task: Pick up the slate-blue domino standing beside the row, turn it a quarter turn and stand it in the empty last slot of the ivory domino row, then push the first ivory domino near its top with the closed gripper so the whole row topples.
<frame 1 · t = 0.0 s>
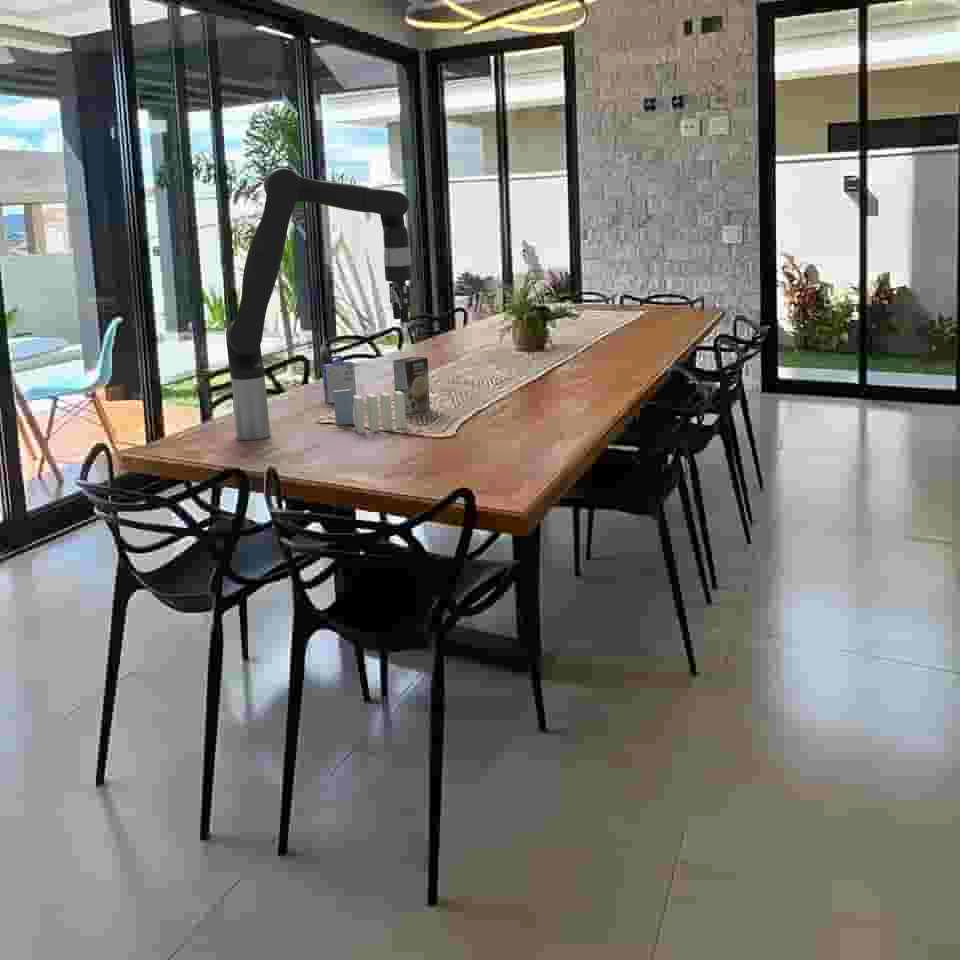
hand: (401, 320, 317), 29 cm above the table, fingers open, 8 cm apart
domino 4: (401, 426, 316), on the table
domino 2: (373, 429, 314), on the table
ink cartridge box: (340, 401, 358), on the table
domino 3: (387, 428, 315), on the table
coffee box: (413, 411, 337), on the table
domino 1: (360, 431, 313), on the table
end domino: (344, 423, 323), on the table
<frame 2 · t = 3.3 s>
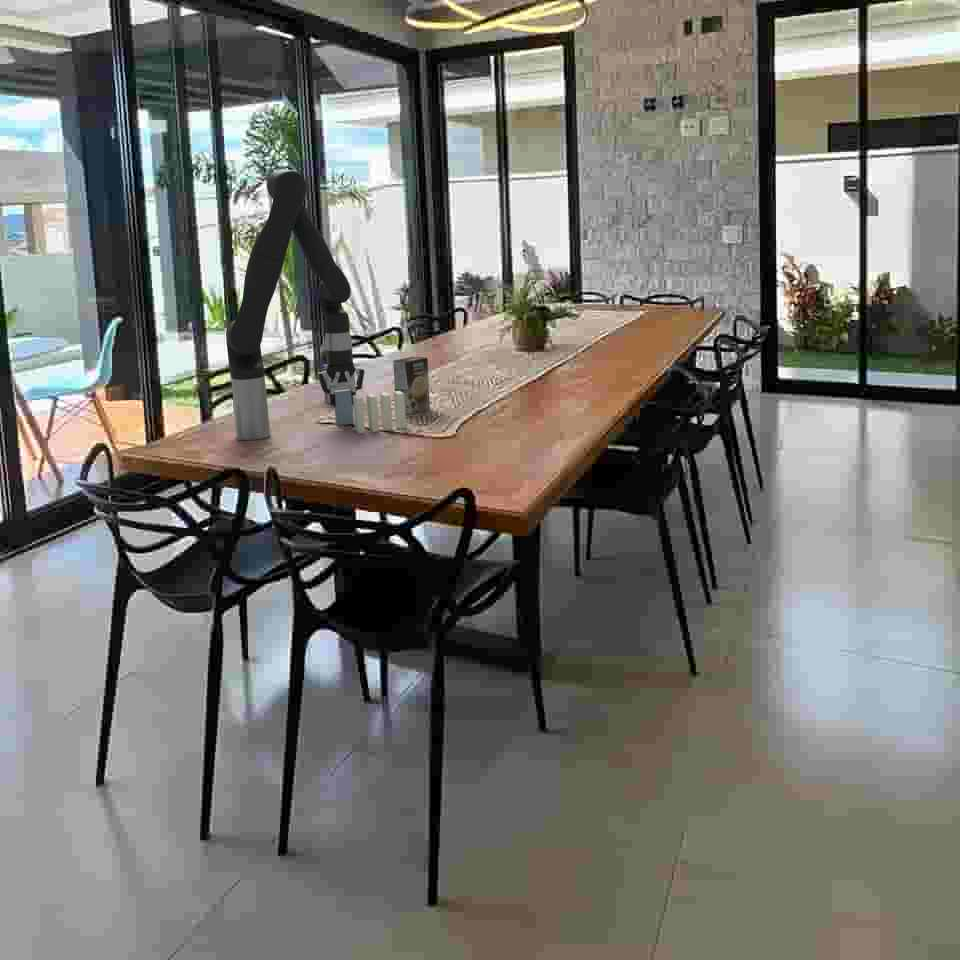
hand: (343, 405, 322), 6 cm above the table, fingers closed on end domino, 5 cm apart
end domino: (344, 423, 323), on the table, touching gripper
everything else where it was.
when the fingers open (6 cm above the table, at t = 9.7 s): end domino stays where it is, on the table.
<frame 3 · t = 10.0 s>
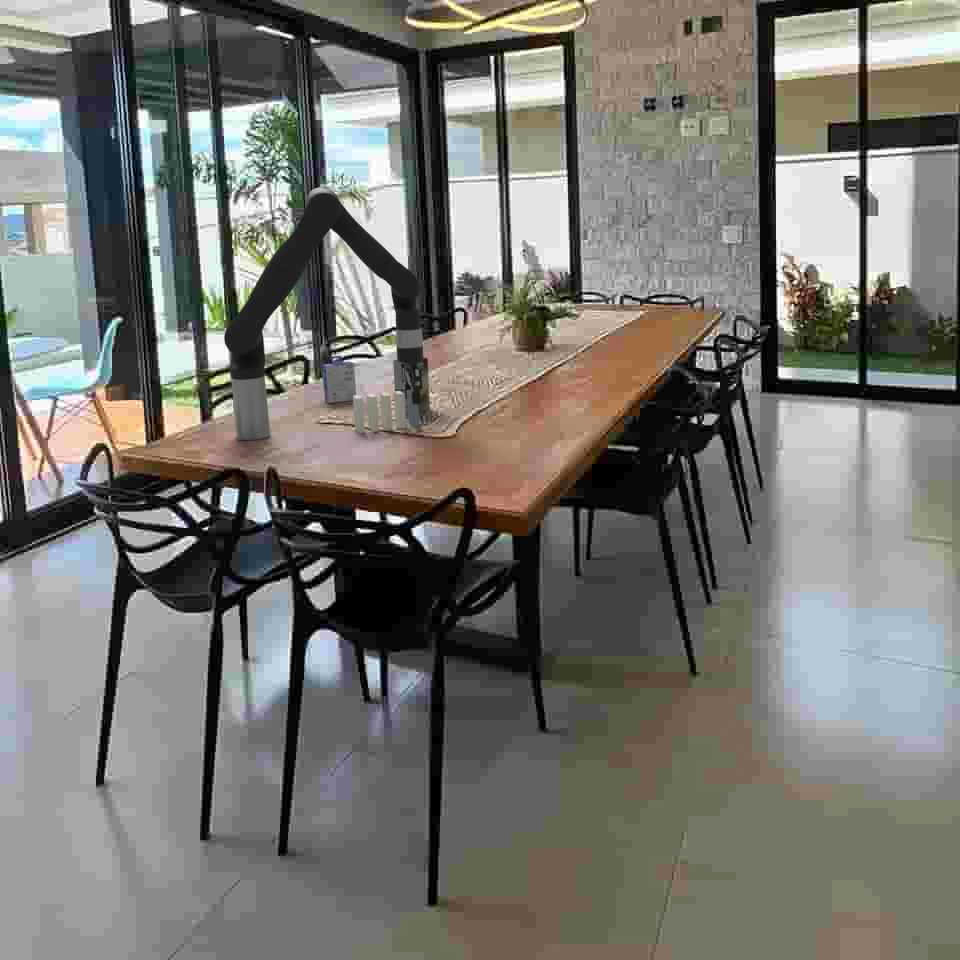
hand: (412, 401, 315), 7 cm above the table, fingers open, 7 cm apart
end domino: (414, 425, 317), on the table
everything else where it was.
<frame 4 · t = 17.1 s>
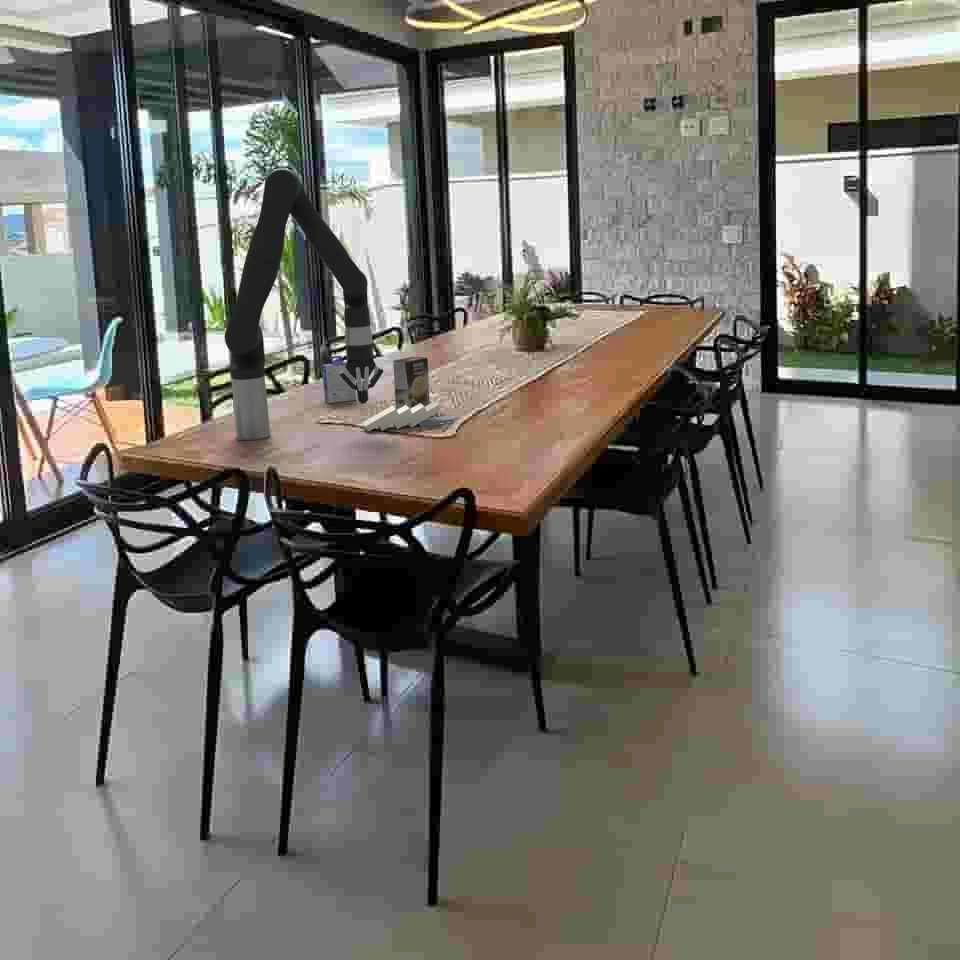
hand: (363, 403, 311), 8 cm above the table, fingers closed
domino 4: (408, 423, 317), point 1 cm above the table, tilted 65°, touching domino 3
domino 2: (378, 426, 314), point 1 cm above the table, tilted 66°, touching domino 1, domino 3
domino 3: (393, 424, 315), point 1 cm above the table, tilted 65°, touching domino 2, domino 4
domino 1: (365, 427, 313), point 1 cm above the table, tilted 66°, touching domino 2
end domino: (417, 424, 317), on the table, tilted 90°
everything else where it was.
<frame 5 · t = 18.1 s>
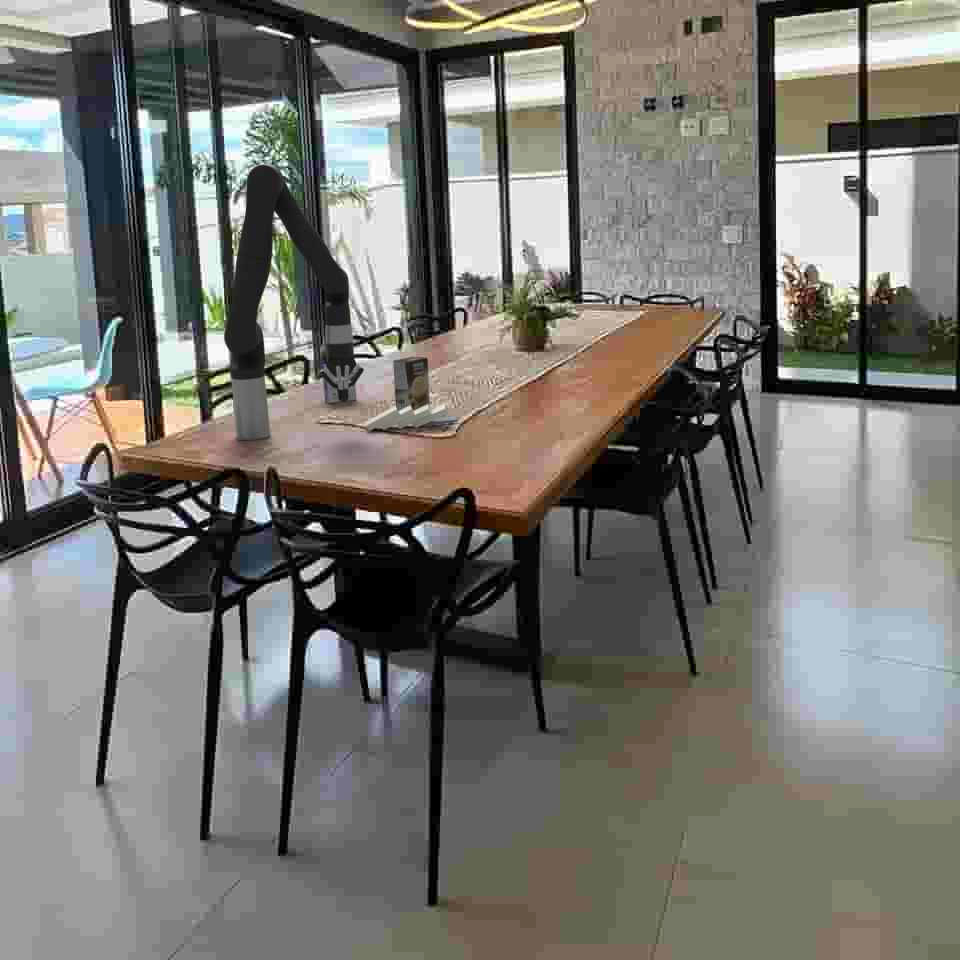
hand: (343, 401, 310), 9 cm above the table, fingers closed
domino 4: (414, 422, 316), point 1 cm above the table, tilted 68°, touching domino 3, end domino
domino 3: (398, 423, 315), point 1 cm above the table, tilted 67°, touching domino 2, domino 4
domino 1: (366, 426, 314), point 1 cm above the table, tilted 66°, touching domino 2
end domino: (422, 424, 317), on the table, tilted 90°, touching domino 4
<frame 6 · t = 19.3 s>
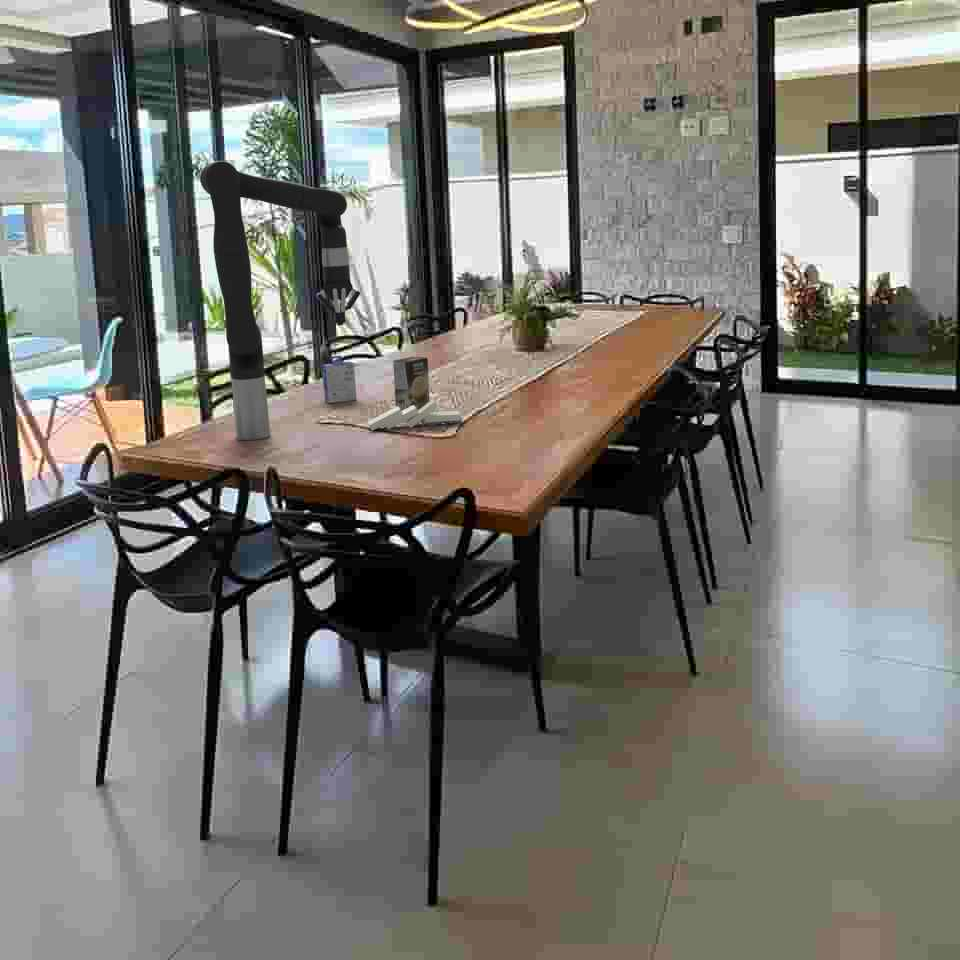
hand: (340, 325, 316), 29 cm above the table, fingers closed
domino 4: (424, 417, 317), point 2 cm above the table, tilted 90°, touching domino 3, end domino
domino 2: (385, 425, 315), point 1 cm above the table, tilted 67°, touching domino 1
domino 3: (408, 423, 316), point 1 cm above the table, tilted 55°, touching domino 4
end domino: (426, 423, 318), on the table, tilted 90°, touching domino 4
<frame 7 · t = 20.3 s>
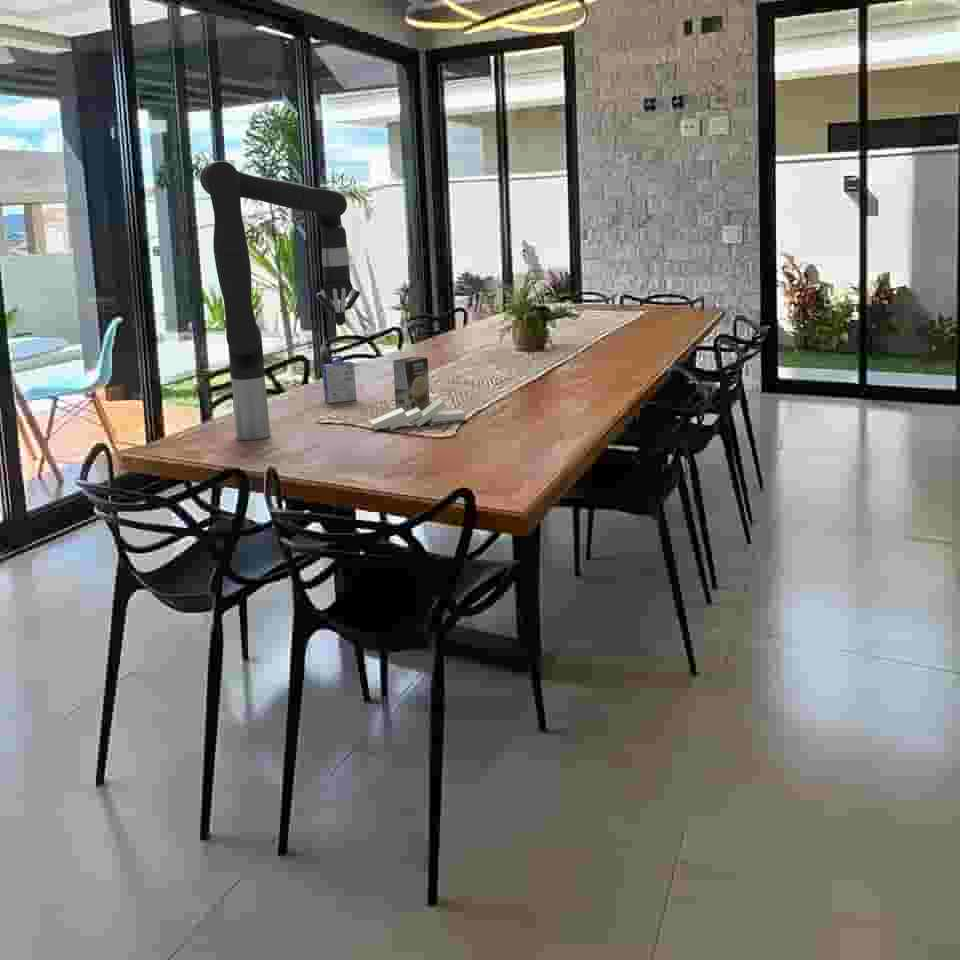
hand: (340, 325, 316), 29 cm above the table, fingers closed
domino 4: (429, 417, 318), point 2 cm above the table, tilted 90°, touching domino 3, end domino
domino 2: (388, 425, 315), point 1 cm above the table, tilted 72°, touching domino 1, domino 3
domino 3: (415, 423, 316), point 1 cm above the table, tilted 58°, touching domino 2, domino 4
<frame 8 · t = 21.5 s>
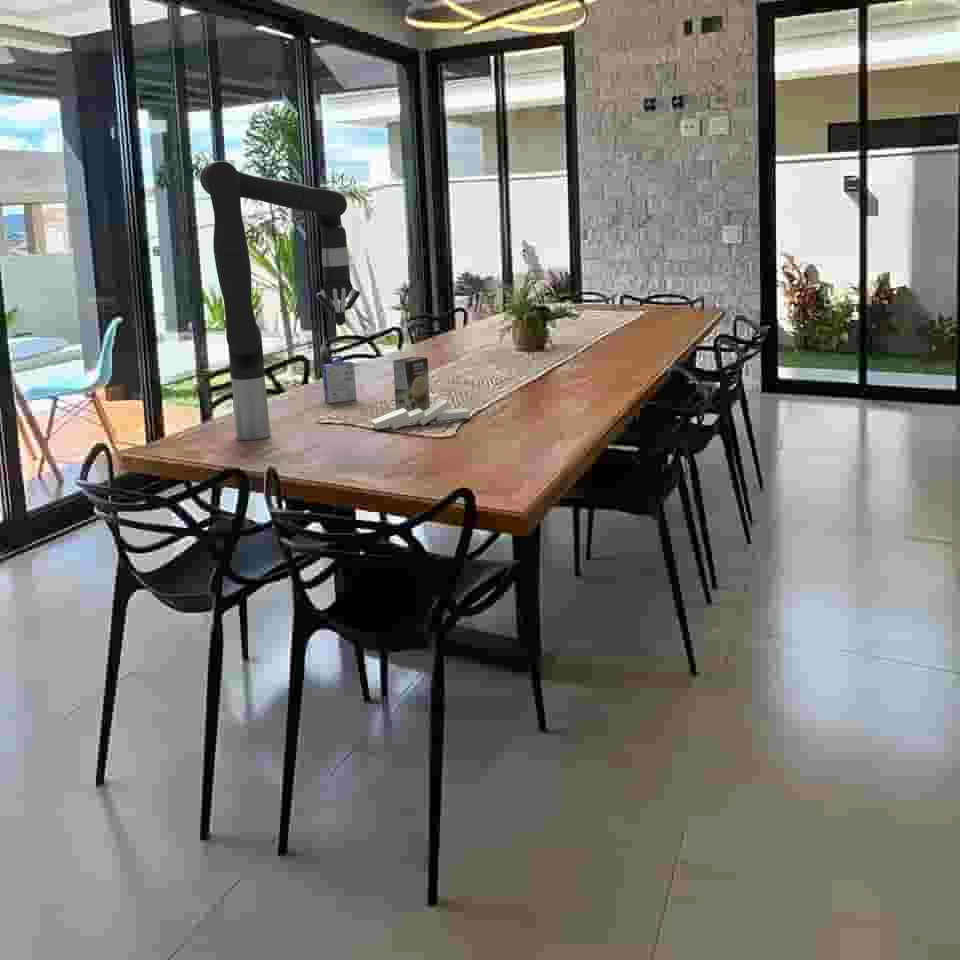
hand: (340, 325, 316), 29 cm above the table, fingers closed
domino 4: (434, 416, 320), point 2 cm above the table, tilted 90°
domino 3: (418, 421, 317), point 1 cm above the table, tilted 62°, touching domino 2
end domino: (427, 423, 319), on the table, tilted 90°
at the end: end domino tilted 90°; end domino inside the target area (1.7 cm from its centre), on the table; domino 1 tilted 74° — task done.
